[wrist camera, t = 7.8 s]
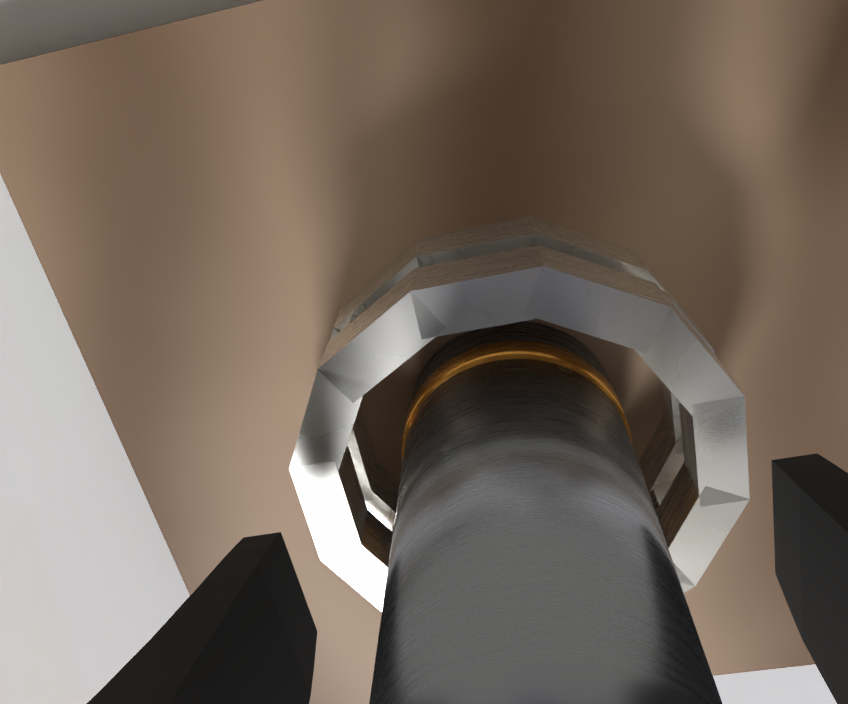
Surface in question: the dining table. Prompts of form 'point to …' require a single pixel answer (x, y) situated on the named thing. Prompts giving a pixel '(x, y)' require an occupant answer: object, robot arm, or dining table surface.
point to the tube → (529, 540)
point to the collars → (498, 305)
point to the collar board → (430, 215)
